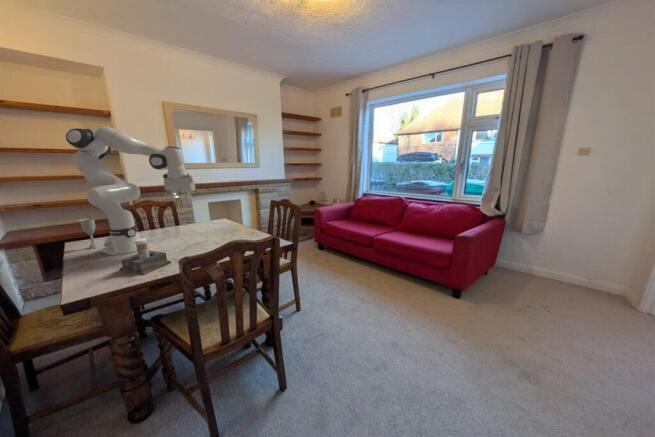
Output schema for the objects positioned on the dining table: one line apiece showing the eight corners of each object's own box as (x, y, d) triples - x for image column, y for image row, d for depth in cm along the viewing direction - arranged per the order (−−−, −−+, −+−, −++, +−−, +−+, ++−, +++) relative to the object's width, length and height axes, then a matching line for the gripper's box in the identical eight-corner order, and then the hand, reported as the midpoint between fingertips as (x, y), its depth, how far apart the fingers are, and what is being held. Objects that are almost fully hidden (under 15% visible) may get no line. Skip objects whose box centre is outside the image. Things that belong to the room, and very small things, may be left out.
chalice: (83, 250, 151) (75, 221, 147) (91, 246, 157) (83, 218, 153) (97, 248, 153) (90, 220, 148) (104, 245, 159) (97, 217, 155)
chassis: (119, 270, 122) (117, 259, 121) (147, 259, 135) (145, 249, 134) (144, 274, 117) (142, 263, 116) (171, 262, 130) (169, 252, 128)
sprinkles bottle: (139, 265, 125) (133, 240, 121) (149, 262, 128) (144, 237, 125) (142, 267, 122) (136, 241, 119) (152, 264, 126) (147, 239, 122)
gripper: (196, 174, 146) (199, 198, 150) (169, 174, 153) (173, 196, 156) (187, 175, 140) (190, 199, 144) (160, 175, 147) (164, 198, 150)
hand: (181, 198), depth 150 cm, fingers open, 8 cm apart
